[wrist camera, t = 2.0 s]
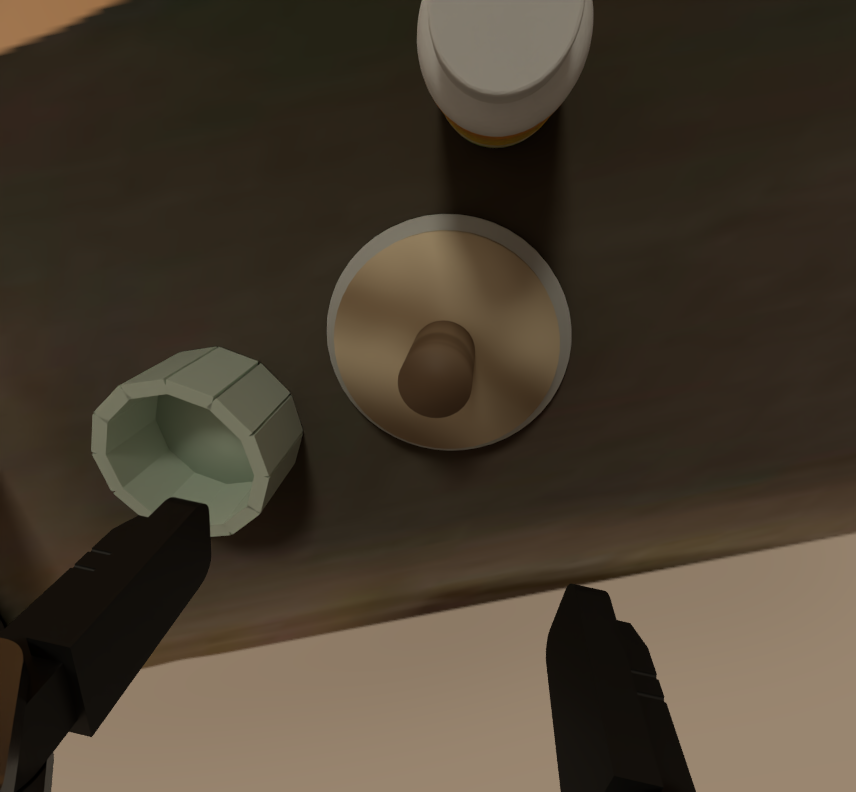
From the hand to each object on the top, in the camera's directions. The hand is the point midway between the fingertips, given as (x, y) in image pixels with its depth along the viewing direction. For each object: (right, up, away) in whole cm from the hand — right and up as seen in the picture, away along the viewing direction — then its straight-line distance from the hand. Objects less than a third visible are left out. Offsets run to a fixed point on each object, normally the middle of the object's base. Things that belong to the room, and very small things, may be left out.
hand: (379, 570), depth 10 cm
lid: (+2, +7, +15) cm, 16 cm away
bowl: (-12, +2, +19) cm, 23 cm away
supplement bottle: (+4, +18, +10) cm, 21 cm away
